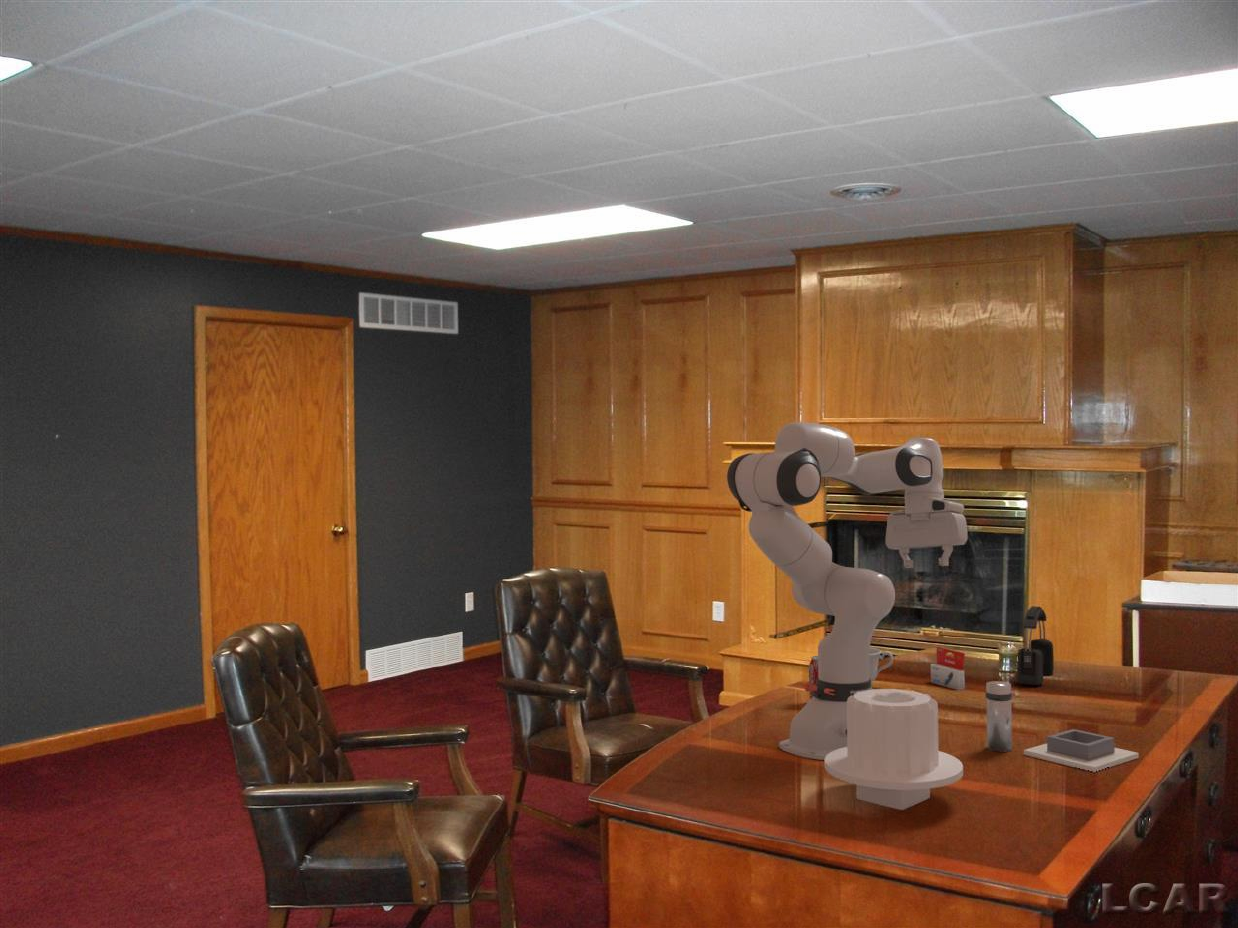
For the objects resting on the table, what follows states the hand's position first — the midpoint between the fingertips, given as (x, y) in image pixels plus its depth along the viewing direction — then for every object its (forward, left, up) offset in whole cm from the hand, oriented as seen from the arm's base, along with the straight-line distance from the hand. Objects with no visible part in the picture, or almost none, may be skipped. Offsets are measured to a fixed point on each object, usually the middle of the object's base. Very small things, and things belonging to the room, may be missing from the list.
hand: (926, 566), depth 255 cm
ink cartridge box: (+39, +25, -38) cm, 59 cm away
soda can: (-2, +31, -38) cm, 49 cm away
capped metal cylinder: (-2, -21, -37) cm, 43 cm away
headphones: (+64, +15, -38) cm, 75 cm away
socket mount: (+6, -35, -37) cm, 51 cm away
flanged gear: (-45, -29, -38) cm, 66 cm away
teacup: (+21, +38, -38) cm, 57 cm away
